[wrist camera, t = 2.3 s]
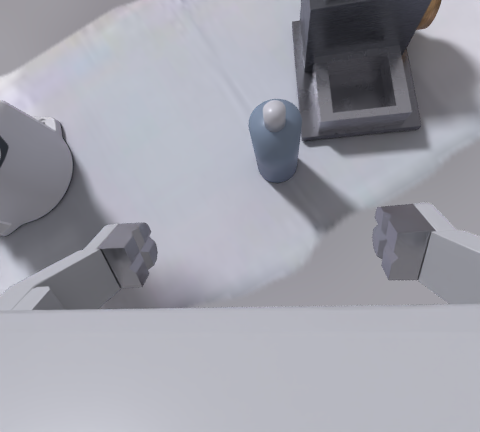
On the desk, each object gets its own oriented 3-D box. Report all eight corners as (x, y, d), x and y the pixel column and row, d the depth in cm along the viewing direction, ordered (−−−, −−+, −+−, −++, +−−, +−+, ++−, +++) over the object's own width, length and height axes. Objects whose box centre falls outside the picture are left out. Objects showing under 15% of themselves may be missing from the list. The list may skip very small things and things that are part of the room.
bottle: (253, 177, 36) (238, 129, 24) (264, 142, 37) (255, 80, 25) (290, 186, 35) (294, 142, 23) (301, 151, 36) (310, 90, 24)
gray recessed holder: (301, 140, 36) (310, 77, 25) (292, 26, 40) (295, -74, 29) (427, 128, 34) (499, 52, 22) (403, 9, 38) (455, -107, 26)
